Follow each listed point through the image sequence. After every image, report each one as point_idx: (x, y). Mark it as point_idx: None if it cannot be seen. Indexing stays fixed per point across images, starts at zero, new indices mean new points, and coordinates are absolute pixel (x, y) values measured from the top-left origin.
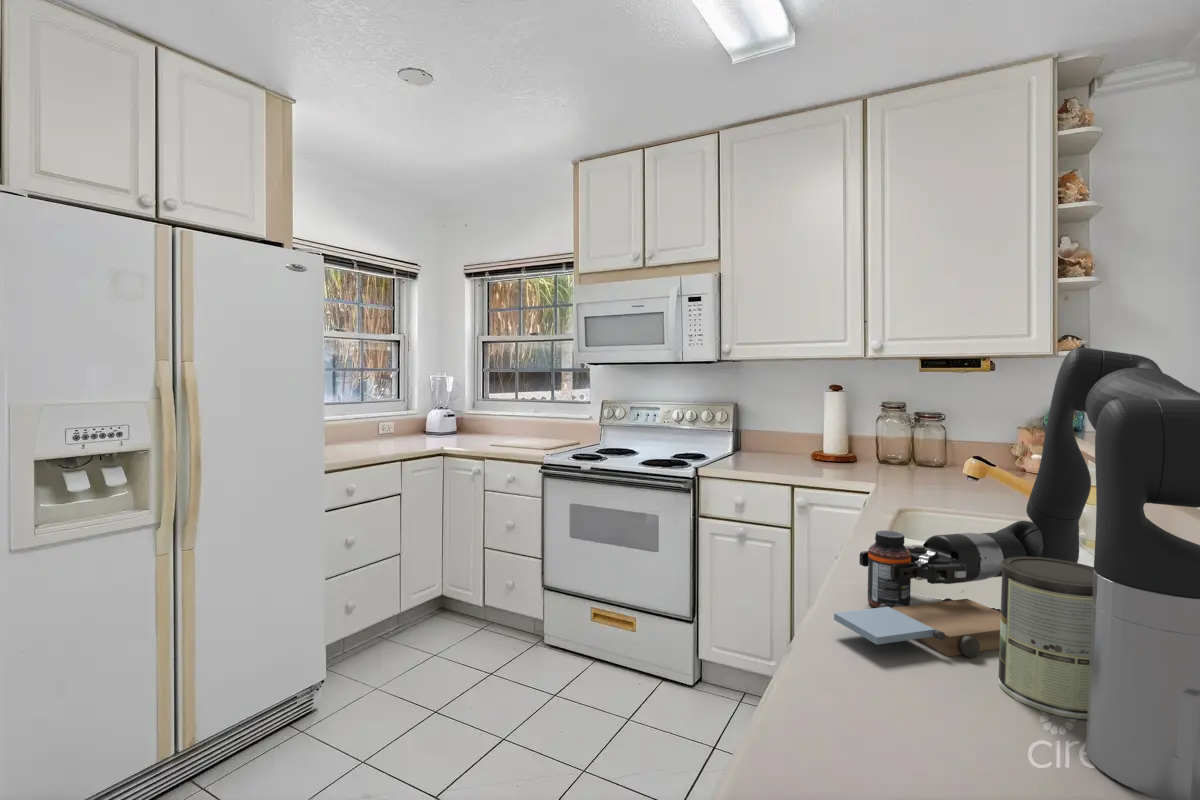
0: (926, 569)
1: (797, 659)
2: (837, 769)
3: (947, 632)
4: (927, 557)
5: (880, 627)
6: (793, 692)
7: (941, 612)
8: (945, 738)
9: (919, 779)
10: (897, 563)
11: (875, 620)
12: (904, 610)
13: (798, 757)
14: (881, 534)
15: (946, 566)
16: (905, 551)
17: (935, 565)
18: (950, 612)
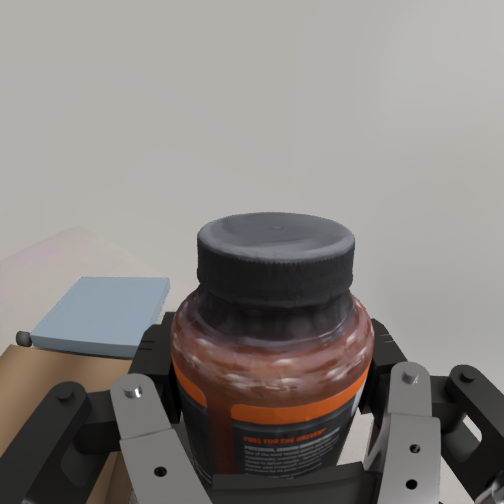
0: (90, 393)
1: (144, 266)
2: (49, 242)
3: (15, 354)
4: (128, 440)
5: (93, 291)
6: (107, 250)
7: None
8: (6, 278)
9: (15, 256)
10: None
11: (112, 298)
12: (117, 374)
13: (68, 237)
14: (269, 214)
15: (19, 441)
16: (186, 321)
17: (60, 414)
18: None
